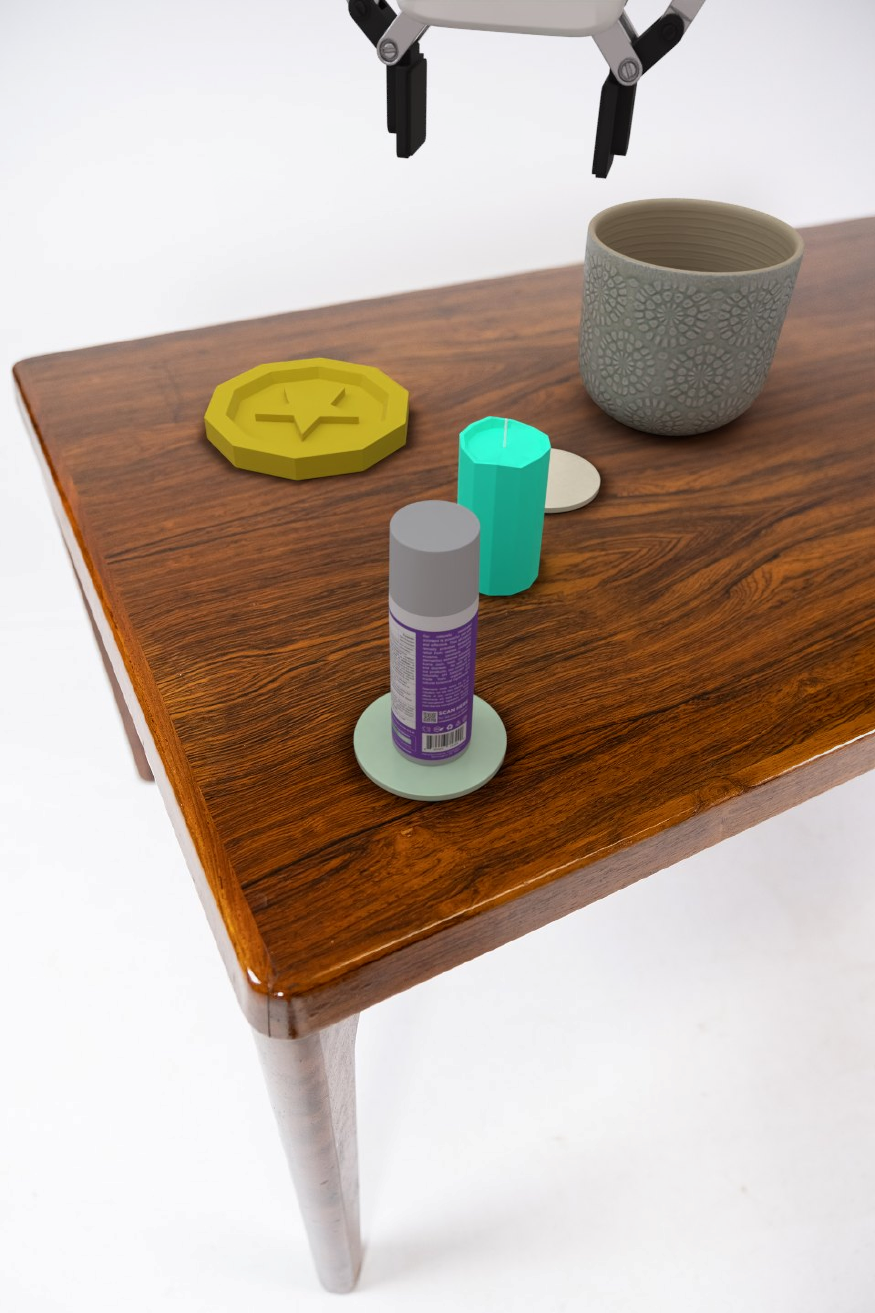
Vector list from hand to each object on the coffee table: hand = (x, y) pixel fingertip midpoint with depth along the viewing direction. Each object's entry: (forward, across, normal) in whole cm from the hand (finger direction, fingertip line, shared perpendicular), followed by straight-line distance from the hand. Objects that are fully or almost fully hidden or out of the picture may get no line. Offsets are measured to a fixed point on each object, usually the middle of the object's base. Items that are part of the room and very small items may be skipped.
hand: (505, 159), depth 50 cm
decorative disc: (+29, -19, +20) cm, 40 cm away
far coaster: (+29, +2, +17) cm, 33 cm away
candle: (+29, 0, +4) cm, 29 cm away
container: (+28, 0, -13) cm, 31 cm away
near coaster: (+29, 0, -13) cm, 31 cm away
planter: (+29, +10, +32) cm, 44 cm away
